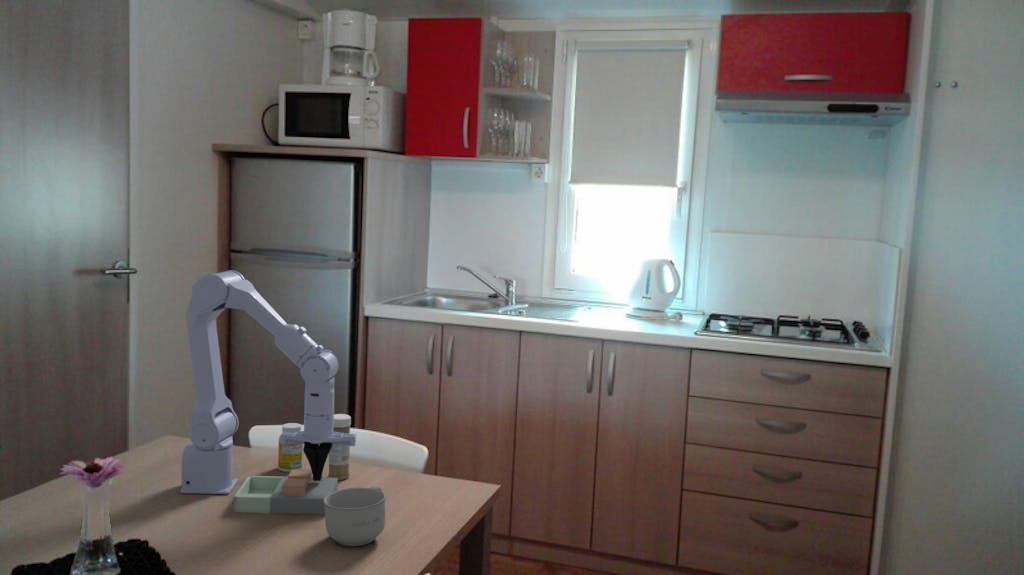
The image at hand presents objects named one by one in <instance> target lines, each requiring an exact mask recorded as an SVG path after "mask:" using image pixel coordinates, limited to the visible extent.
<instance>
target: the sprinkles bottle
mask: <svg viewBox="0 0 1024 575" xmlns="http://www.w3.org/2000/svg"><path fill="white" fill-rule="evenodd" d="M351 425H352V417H351V416H350V415H349V414H345V413H337V414H335V413H334V429H333V432H340V433H347V434H351V433H350V432H351V429H350V428H351ZM350 451H351V446H349V445H333V446H332V448H331V450H330V452H329V454H328V473H327V476H328V477H327V478H338V481H342V480H346V479H348V478H349V477H350V458H351V457H350V455H351V452H350Z"/></svg>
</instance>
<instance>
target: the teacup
mask: <svg viewBox="0 0 1024 575" xmlns="http://www.w3.org/2000/svg"><path fill="white" fill-rule="evenodd" d="M386 499H387V496H386V494H385V492H384V491H383V489H382V487H381V486H378V485H372V486H370V487H349V488H343V489H338V491H335V492H332V493H330V494H328V495H327V496H326V497H325V498H324V505H325V514H324V521H325V522H324V523H325V528H326V531H327V532H326V533H327V534H328V536H329V537H330V538H331V539H332V540H334V541H336V543H338V544H340V545H342V546H345V547H359V546H365V545H367V544H370V543H372V542H373V541H375V540H376V538H377V537H378V536H379V535H381V533H382V532H383V531H384V529H385V525H386Z"/></svg>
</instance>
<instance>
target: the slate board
mask: <svg viewBox="0 0 1024 575" xmlns="http://www.w3.org/2000/svg"><path fill="white" fill-rule="evenodd" d="M281 477H282V479H281V481H280V482H279V484H278V486H277V487H276V489H275V491H274V492H273V494H272V496H271V497H270V513H269V514H282V515H283V514H285V515H286V514H287V515H288V514H291V515H294V514H295V515H296V514H297V515H325V505H324V498H325V497H326V496H327V495H328V494H330V493H332V492H335V491H338V490H339V489H338V487H339V486H338V484H339V480H338V478H329V477H322V479H321V481H313V476H312V480H311V482H310V484H309V486H307V490H306V492H305V494H304V496H282V486H283V484H284V482H285V480H286V479H287V478H288V476H281Z"/></svg>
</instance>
